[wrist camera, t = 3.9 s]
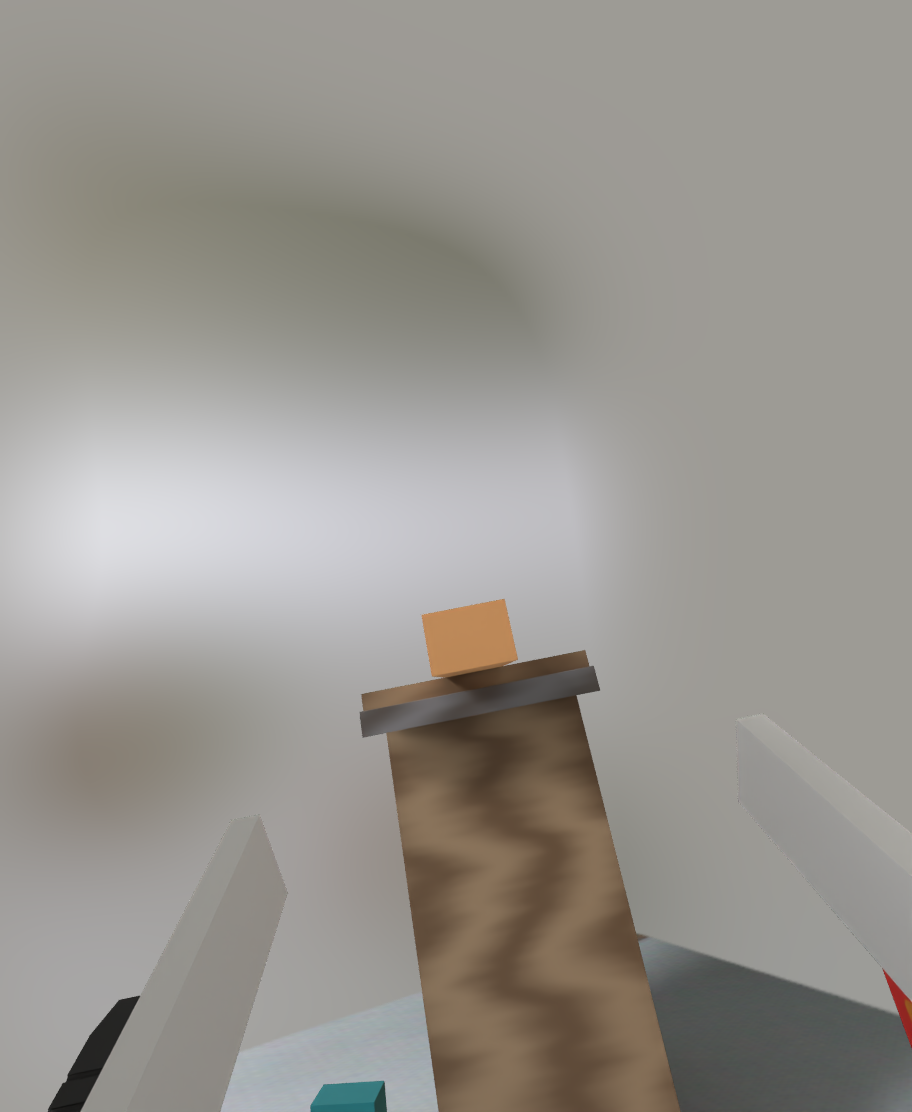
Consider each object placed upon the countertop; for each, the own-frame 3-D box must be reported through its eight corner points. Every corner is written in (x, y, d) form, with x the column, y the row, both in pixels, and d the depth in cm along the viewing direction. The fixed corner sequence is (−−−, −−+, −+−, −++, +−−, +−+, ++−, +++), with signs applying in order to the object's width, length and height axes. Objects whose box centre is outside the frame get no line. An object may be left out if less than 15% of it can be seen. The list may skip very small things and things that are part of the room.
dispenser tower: (450, 1444, 18) (357, 694, 27) (461, 1063, 37) (403, 688, 45) (780, 1368, 19) (589, 649, 27) (627, 1028, 37) (541, 661, 45)
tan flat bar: (431, 676, 18) (421, 614, 19) (454, 678, 43) (450, 652, 44) (517, 659, 18) (504, 598, 19) (490, 671, 43) (485, 645, 44)
